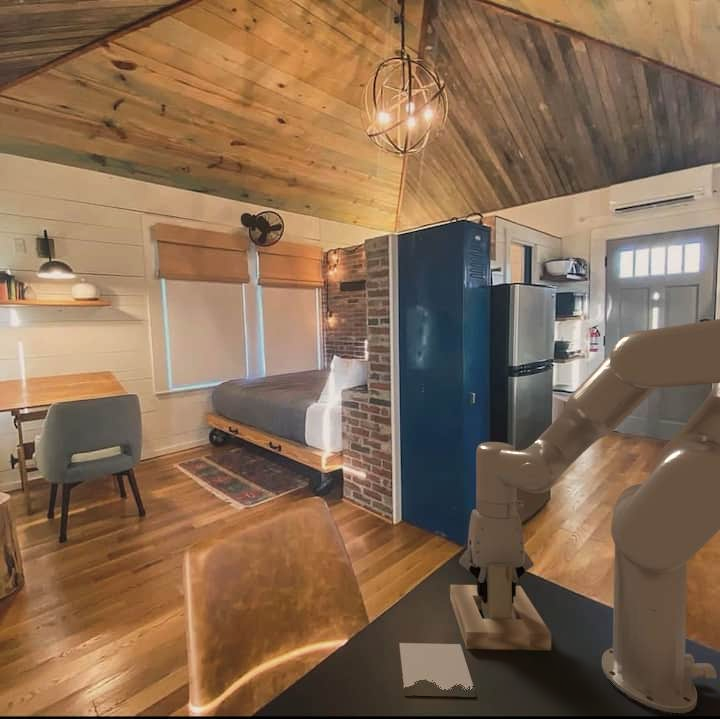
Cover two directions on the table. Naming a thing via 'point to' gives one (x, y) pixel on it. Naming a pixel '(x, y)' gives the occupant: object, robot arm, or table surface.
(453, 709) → the table surface
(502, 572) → the skincare box
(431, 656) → the mat
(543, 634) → the holder
